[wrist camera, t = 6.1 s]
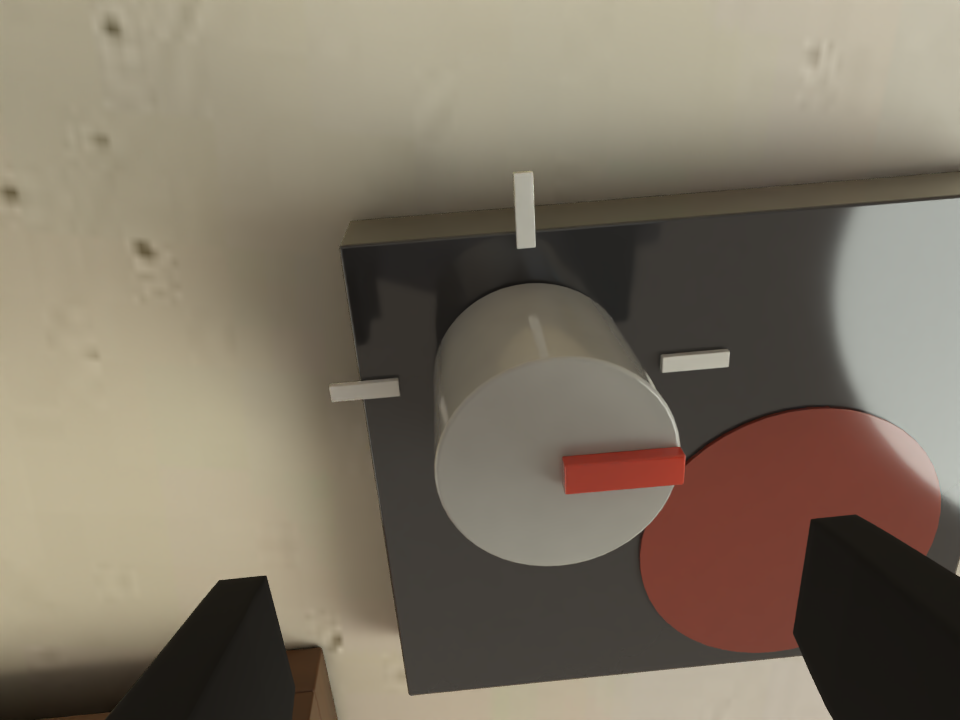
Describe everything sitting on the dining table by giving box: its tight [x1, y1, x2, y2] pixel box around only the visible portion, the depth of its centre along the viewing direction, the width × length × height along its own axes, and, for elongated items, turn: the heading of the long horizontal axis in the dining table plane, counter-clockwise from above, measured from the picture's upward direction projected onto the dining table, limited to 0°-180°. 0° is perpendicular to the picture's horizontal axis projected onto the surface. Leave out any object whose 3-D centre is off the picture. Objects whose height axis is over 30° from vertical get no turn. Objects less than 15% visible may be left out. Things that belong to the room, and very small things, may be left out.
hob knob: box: [433, 283, 686, 566], centre depth 13 cm, size 4×4×4 cm
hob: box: [329, 171, 960, 696], centre depth 17 cm, size 13×15×2 cm
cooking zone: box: [639, 407, 941, 653], centre depth 17 cm, size 7×7×1 cm
